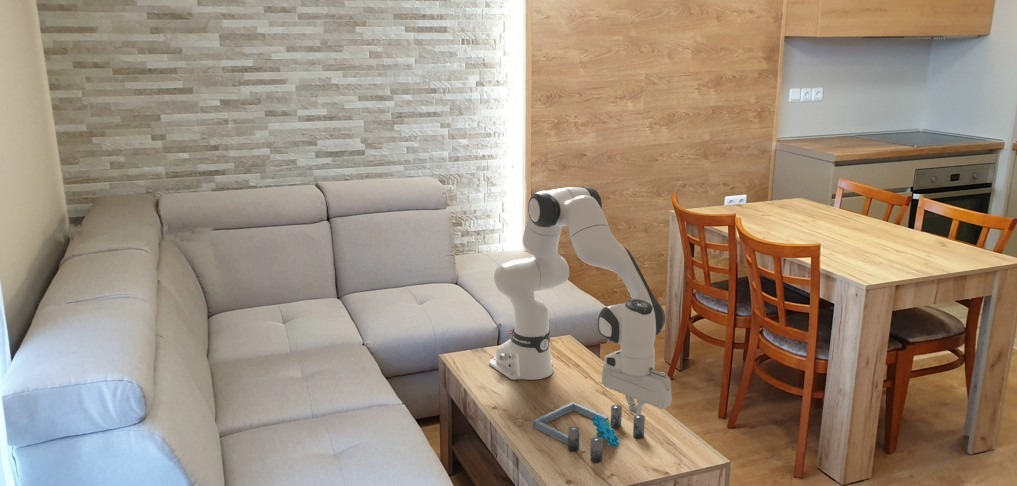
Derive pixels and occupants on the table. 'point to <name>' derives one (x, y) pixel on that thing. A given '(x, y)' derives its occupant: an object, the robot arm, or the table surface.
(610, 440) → the gear
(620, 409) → the spacer posts
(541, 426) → the u-shaped bent rod
